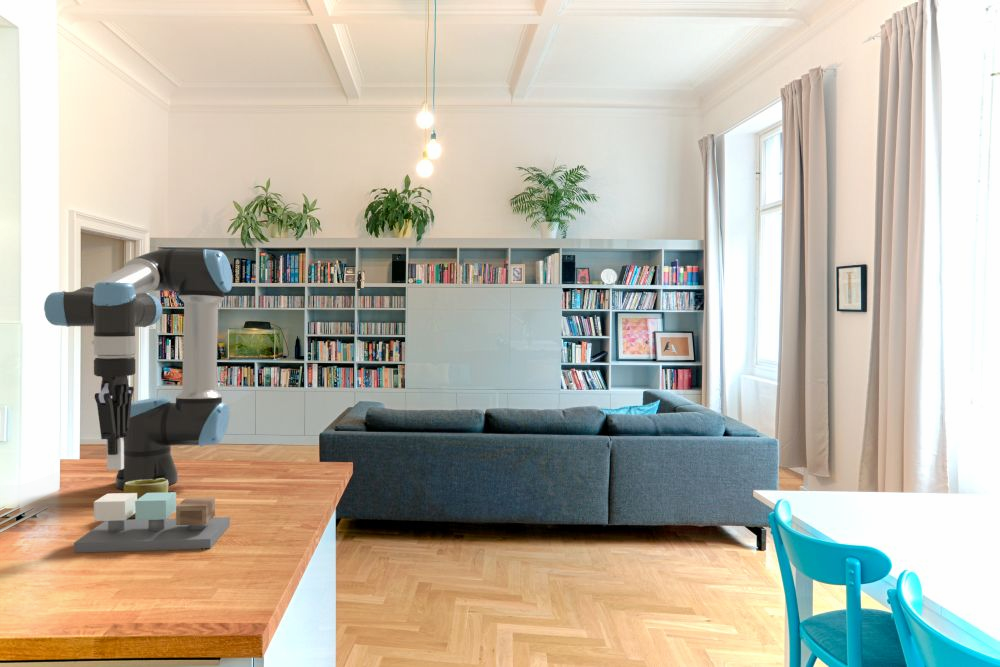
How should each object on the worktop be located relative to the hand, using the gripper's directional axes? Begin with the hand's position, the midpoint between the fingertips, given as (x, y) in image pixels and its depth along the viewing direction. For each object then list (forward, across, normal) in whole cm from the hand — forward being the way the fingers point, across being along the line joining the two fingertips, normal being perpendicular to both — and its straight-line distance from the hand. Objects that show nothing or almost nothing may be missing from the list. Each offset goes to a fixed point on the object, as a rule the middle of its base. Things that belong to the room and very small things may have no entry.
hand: (115, 469), depth 140 cm
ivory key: (+10, 0, 0) cm, 10 cm away
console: (+15, 0, +8) cm, 17 cm away
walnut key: (+11, 0, +16) cm, 20 cm away
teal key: (+10, 0, +8) cm, 13 cm away
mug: (+15, -18, 0) cm, 24 cm away
